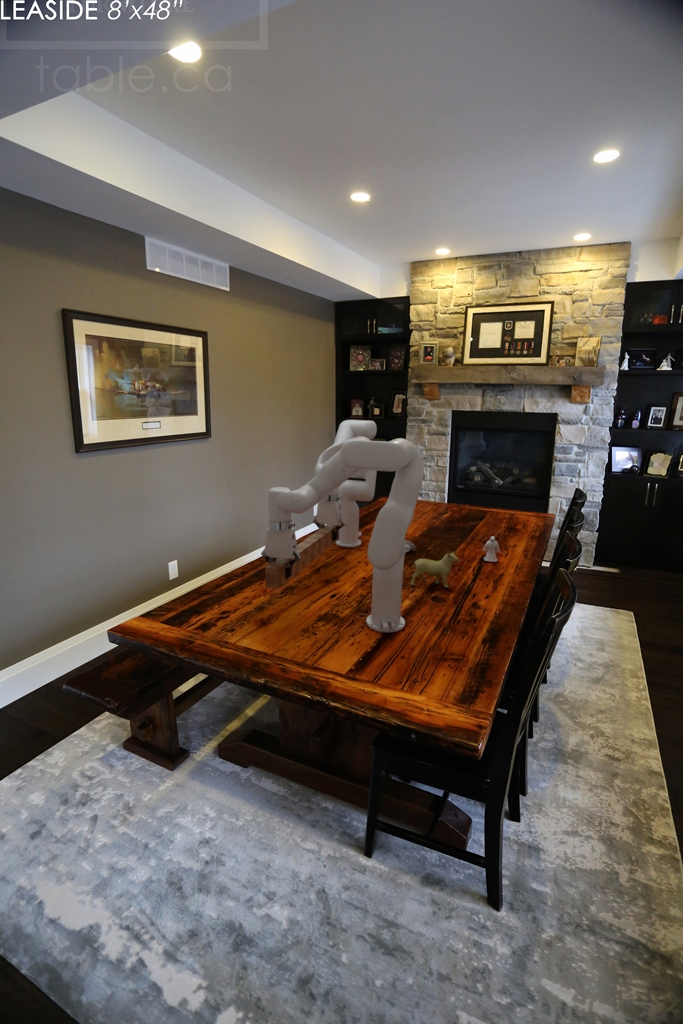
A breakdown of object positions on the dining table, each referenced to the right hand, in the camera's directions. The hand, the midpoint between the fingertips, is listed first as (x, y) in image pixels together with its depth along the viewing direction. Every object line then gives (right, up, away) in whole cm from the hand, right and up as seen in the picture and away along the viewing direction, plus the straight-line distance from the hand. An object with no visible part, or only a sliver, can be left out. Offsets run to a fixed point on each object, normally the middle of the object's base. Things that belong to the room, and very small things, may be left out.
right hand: (281, 575), depth 170 cm
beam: (+8, +3, +21) cm, 23 cm away
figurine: (+88, 0, +55) cm, 104 cm away
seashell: (+51, +3, +65) cm, 83 cm away
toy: (+56, -7, +25) cm, 62 cm away
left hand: (+15, +10, +42) cm, 46 cm away
